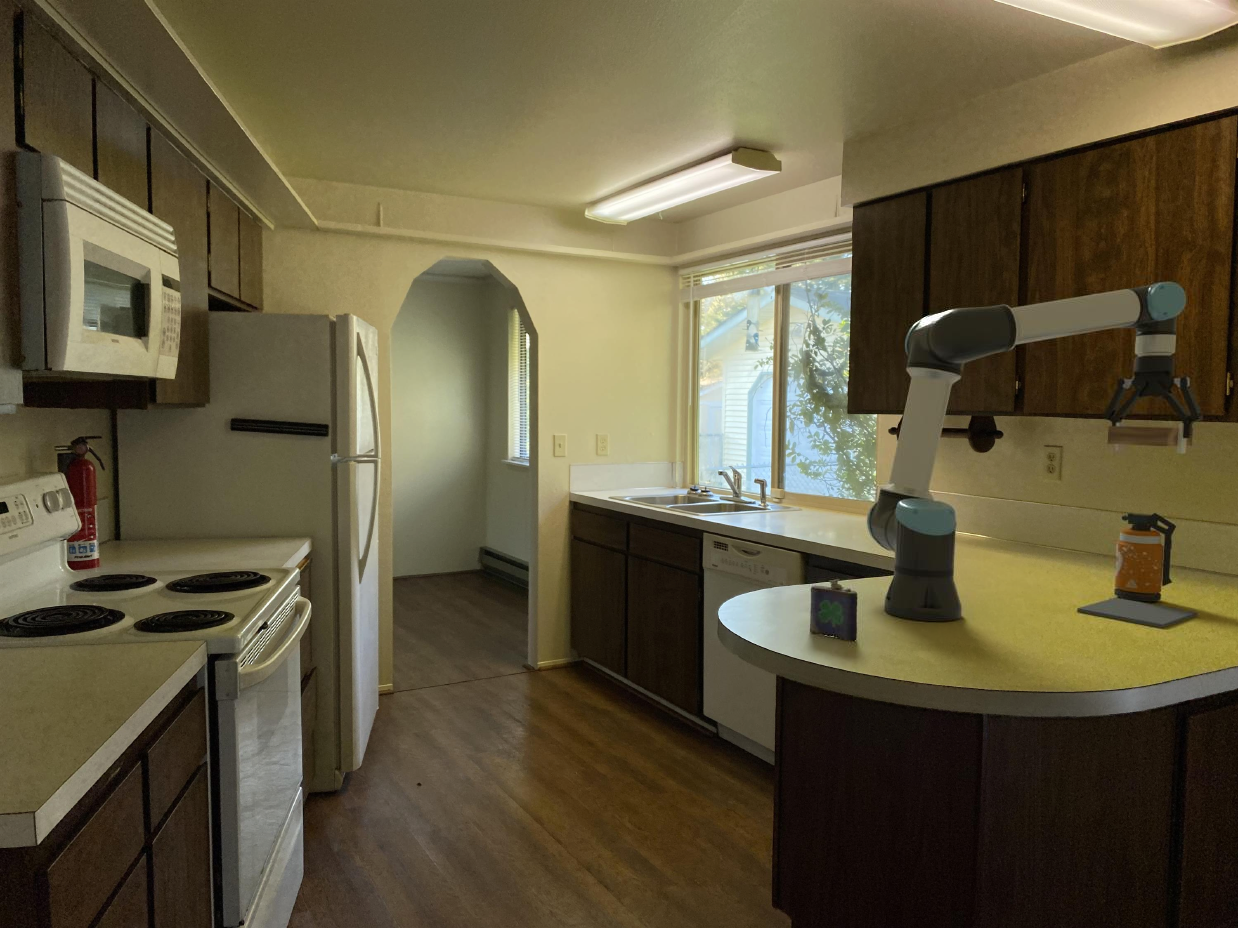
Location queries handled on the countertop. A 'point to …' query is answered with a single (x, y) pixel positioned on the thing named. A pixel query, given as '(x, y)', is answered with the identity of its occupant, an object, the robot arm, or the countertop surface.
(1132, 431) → the wooden block
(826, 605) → the flask
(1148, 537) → the canister
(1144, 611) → the mat
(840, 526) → the countertop surface
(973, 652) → the countertop surface
